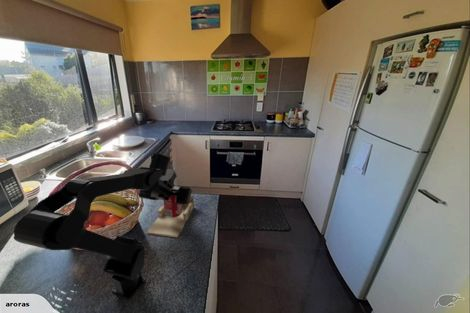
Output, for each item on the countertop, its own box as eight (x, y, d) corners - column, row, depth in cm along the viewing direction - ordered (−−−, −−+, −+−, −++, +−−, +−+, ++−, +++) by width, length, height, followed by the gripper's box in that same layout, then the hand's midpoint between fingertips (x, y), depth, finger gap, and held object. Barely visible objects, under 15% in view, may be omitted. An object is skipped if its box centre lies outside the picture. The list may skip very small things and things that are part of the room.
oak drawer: (177, 237, 76) (176, 223, 74) (147, 233, 78) (144, 219, 75) (193, 207, 94) (193, 195, 91) (168, 204, 95) (167, 192, 93)
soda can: (182, 208, 87) (181, 183, 82) (182, 218, 80) (181, 193, 76) (165, 209, 85) (164, 184, 81) (163, 220, 79) (161, 194, 75)
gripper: (188, 168, 69) (200, 182, 83) (140, 162, 72) (160, 176, 86) (179, 200, 65) (194, 209, 79) (128, 192, 68) (151, 202, 82)
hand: (174, 198), depth 82 cm, fingers closed on soda can, 7 cm apart
